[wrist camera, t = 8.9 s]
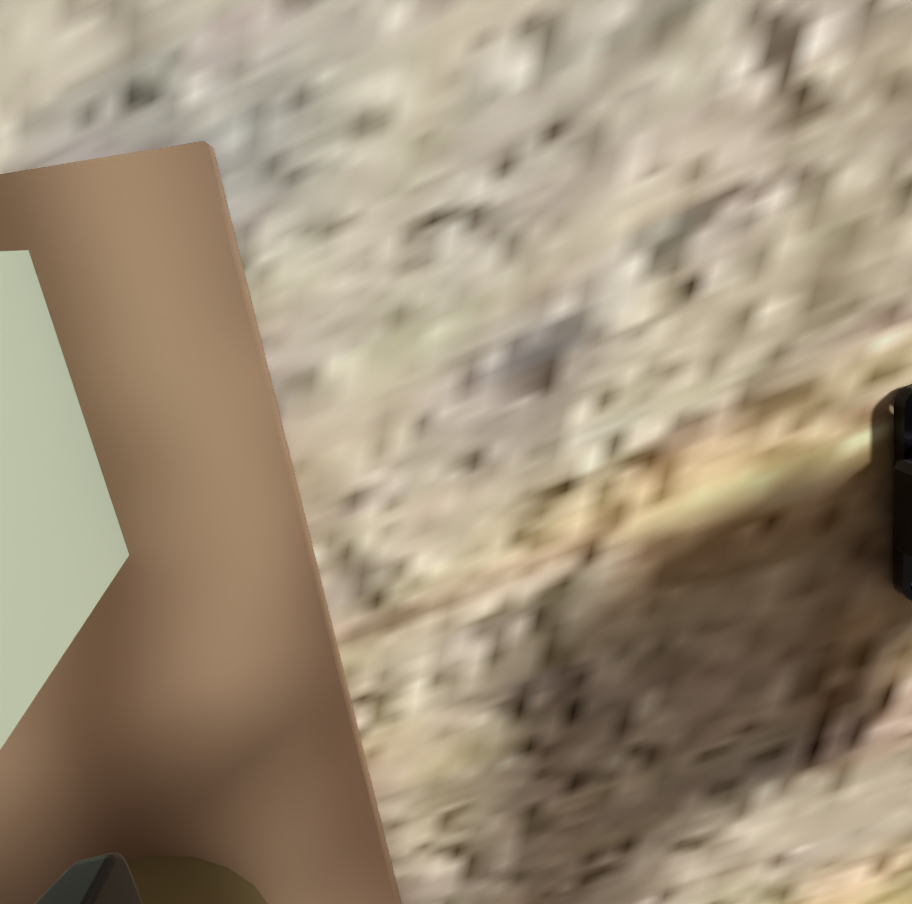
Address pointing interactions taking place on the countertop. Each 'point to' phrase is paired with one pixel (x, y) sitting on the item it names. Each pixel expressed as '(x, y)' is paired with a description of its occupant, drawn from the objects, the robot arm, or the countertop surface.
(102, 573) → the sage tin
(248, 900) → the cork
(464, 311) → the countertop surface
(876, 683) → the countertop surface
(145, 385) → the shelf board
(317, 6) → the countertop surface
